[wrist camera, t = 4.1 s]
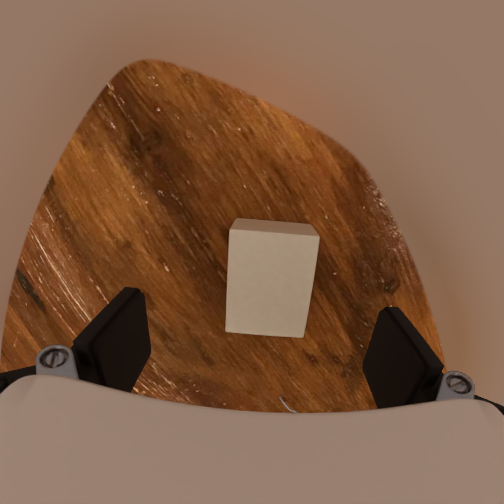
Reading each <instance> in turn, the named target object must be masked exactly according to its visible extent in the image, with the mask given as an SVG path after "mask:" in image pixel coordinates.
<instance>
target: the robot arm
mask: <svg viewBox="0 0 504 504" xmlns="http://www.w3.org/2000/svg"><path fill="white" fill-rule="evenodd" d="M73 343H74V345H73V346H72V347H71V348H69V347H68V346H65V345H60V344H56V345H51V346H47V347H45V348H44V349H42V350H41V351H40V352H39V353H38V355H37V356H36V365H34V366H30V367H26V368H22V369H17V370H13V371H8V372H4V373H0V504H504V406H502V405H499V404H497V403H494V402H491V401H489V400H487V399H484V398H481V397H479V396H477V395H474V394H475V385H474V383H473V381H472V380H471V378H470V377H468V376H467V375H466V374H464V373H462V372H458V371H449V372H447V373H445V374H443V373H442V369H443V367H444V365H443V364H442V362H441V361H440V360H439V358H438V357H437V356H436V354H435V353H434V352H433V350H432V349H431V348H430V346H429V345H428V344H427V342H426V341H425V340H424V338H423V337H422V336H421V335H420V333H419V332H418V331H417V329H416V328H415V327H414V326H413V324H412V323H411V322H410V321H409V319H408V318H407V317H406V316H405V314H404V313H403V312H402V311H401V309H400V308H399V307H385V308H384V309H383V310H381V311H380V312H379V314H378V318H377V321H376V325H375V328H374V331H373V334H372V337H371V340H370V343H369V346H368V349H367V352H366V355H365V358H364V361H363V366H362V368H363V372H364V375H365V377H366V380H367V382H368V384H369V387H370V389H371V392H372V395H373V397H374V400H375V402H376V405H377V407H378V409H373V410H362V411H349V412H330V413H274V412H255V411H241V410H230V409H220V408H212V407H204V406H197V405H190V404H184V403H178V402H172V401H166V400H161V399H156V398H151V397H147V396H142V395H138V394H133V393H130V392H131V391H132V389H133V387H134V385H135V383H136V381H137V379H138V377H139V375H140V373H141V371H142V370H143V368H144V366H145V364H146V362H147V360H148V358H149V356H150V354H151V344H150V337H149V330H148V322H147V314H146V305H145V296H144V293H141V291H140V289H138V288H130V287H125V288H124V289H123V290H122V291H121V292H120V293H119V294H118V295H117V296H116V297H115V298H114V299H113V300H112V301H111V302H110V303H109V304H108V305H107V306H106V307H105V308H104V309H103V310H102V311H101V312H100V313H99V314H98V315H97V316H96V317H95V318H94V319H93V320H92V321H91V322H90V323H89V325H88V326H87V327H86V328H85V329H84V330H83V331H82V332H81V333H80V334H79V335H78V336H77V337H76V338H75V340H74V341H73Z"/></svg>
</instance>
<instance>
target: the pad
mask: <svg viewBox="0 0 504 504" xmlns="http://www.w3.org/2000/svg"><path fill="white" fill-rule="evenodd" d="M319 239H320V236H319V235H318V234H317V232H316V231H315V229H314V228H313V226H312V225H311V224H303V223H292V222H281V221H269V220H257V219H244V218H236V219H235V221H234V223H233V224H232V226H231V228H230V230H229V249H228V272H227V298H226V330H225V331H226V332H233V333H244V334H255V335H268V336H283V337H301V338H303V337H304V332H305V327H306V322H307V316H308V310H309V305H310V299H311V293H312V287H313V281H314V274H315V268H316V261H317V254H318V247H319Z"/></svg>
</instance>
